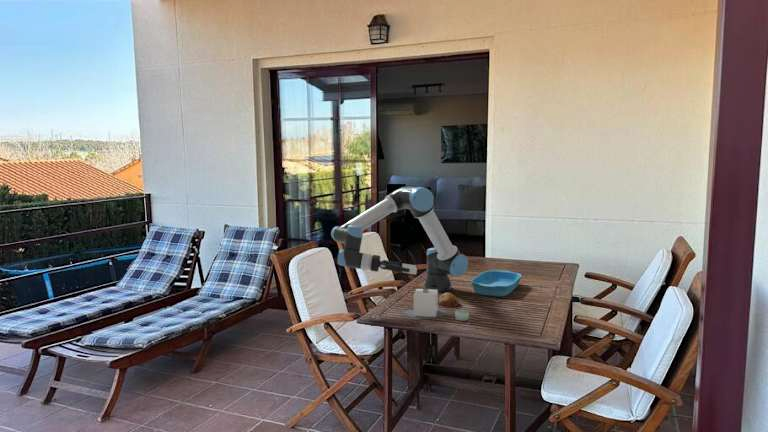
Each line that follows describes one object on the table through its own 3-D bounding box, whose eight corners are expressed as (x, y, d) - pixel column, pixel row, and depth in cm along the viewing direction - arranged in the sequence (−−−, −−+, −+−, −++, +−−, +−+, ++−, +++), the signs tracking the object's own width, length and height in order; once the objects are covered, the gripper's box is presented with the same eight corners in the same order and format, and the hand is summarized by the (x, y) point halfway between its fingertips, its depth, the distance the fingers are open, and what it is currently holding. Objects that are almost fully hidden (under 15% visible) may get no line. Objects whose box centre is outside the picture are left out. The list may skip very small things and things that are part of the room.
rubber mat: (435, 307, 246) (435, 306, 246) (450, 315, 234) (450, 314, 234) (401, 312, 239) (401, 311, 239) (415, 321, 226) (415, 320, 226)
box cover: (416, 309, 242) (416, 286, 241) (437, 310, 240) (437, 287, 239) (413, 315, 232) (413, 291, 231) (435, 316, 231) (435, 292, 229)
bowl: (463, 317, 231) (463, 308, 230) (471, 321, 225) (471, 312, 225) (452, 319, 228) (452, 310, 228) (459, 323, 223) (459, 313, 222)
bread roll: (448, 308, 257) (442, 293, 258) (464, 303, 250) (458, 288, 252) (437, 313, 249) (431, 298, 251) (453, 308, 243) (447, 292, 244)
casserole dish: (507, 300, 258) (508, 286, 257) (465, 295, 268) (465, 282, 267) (525, 284, 290) (525, 272, 289) (487, 280, 300) (487, 268, 300)
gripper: (371, 267, 249) (413, 274, 249) (368, 273, 224) (415, 281, 224) (373, 252, 249) (416, 259, 249) (370, 256, 224) (418, 264, 224)
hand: (416, 269), depth 236 cm, fingers open, 13 cm apart
